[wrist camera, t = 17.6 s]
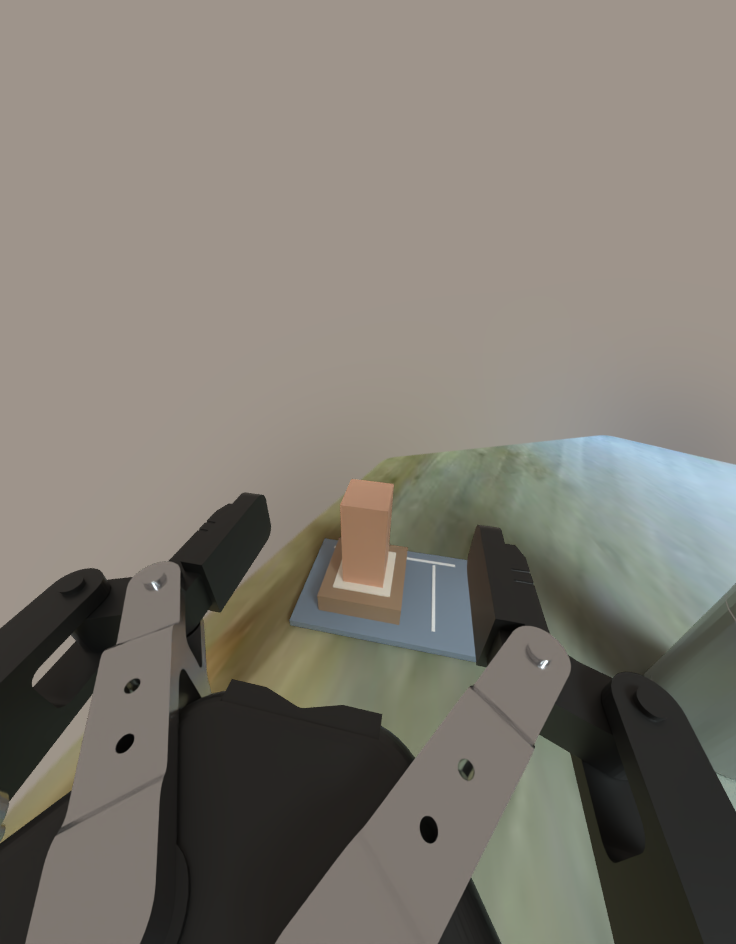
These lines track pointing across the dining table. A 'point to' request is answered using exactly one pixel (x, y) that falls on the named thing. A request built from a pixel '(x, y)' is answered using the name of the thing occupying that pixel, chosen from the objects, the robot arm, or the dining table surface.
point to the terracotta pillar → (366, 531)
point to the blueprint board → (411, 609)
